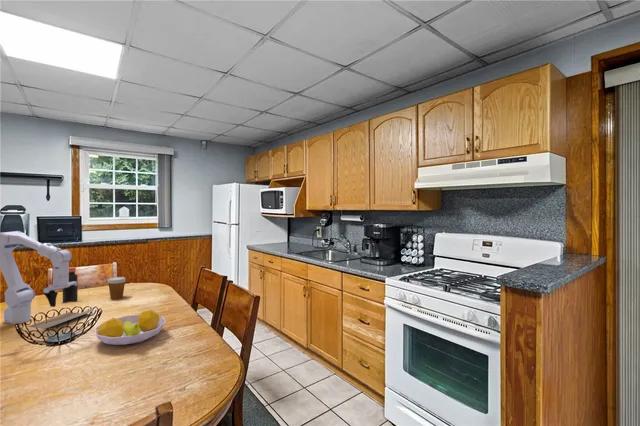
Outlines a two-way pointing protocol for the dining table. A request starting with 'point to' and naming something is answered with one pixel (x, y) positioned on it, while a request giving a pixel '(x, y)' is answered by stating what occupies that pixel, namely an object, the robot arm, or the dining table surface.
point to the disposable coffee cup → (116, 287)
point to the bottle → (72, 278)
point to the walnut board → (52, 320)
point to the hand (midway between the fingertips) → (60, 303)
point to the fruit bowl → (130, 328)
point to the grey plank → (67, 319)
